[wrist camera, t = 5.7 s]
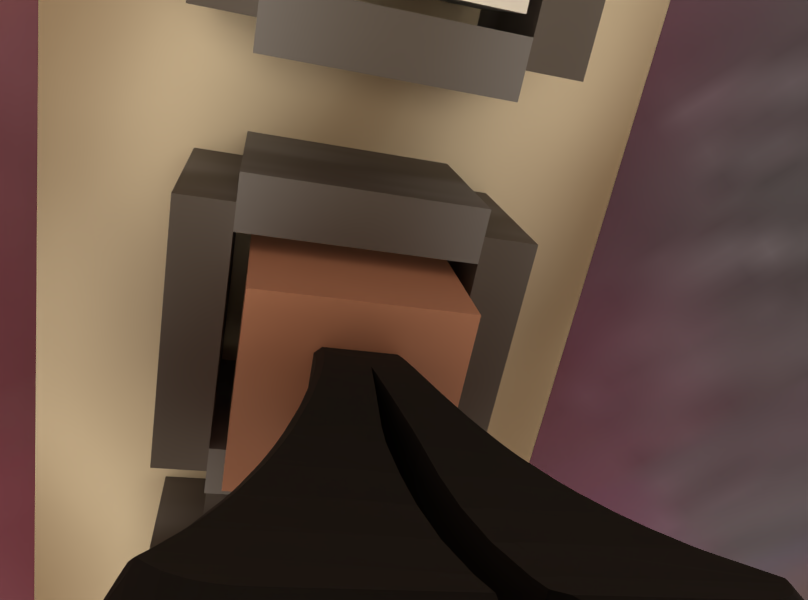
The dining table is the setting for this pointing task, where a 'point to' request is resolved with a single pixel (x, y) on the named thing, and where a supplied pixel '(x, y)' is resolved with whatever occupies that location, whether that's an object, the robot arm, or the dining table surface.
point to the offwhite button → (495, 5)
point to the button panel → (294, 216)
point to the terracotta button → (336, 330)
